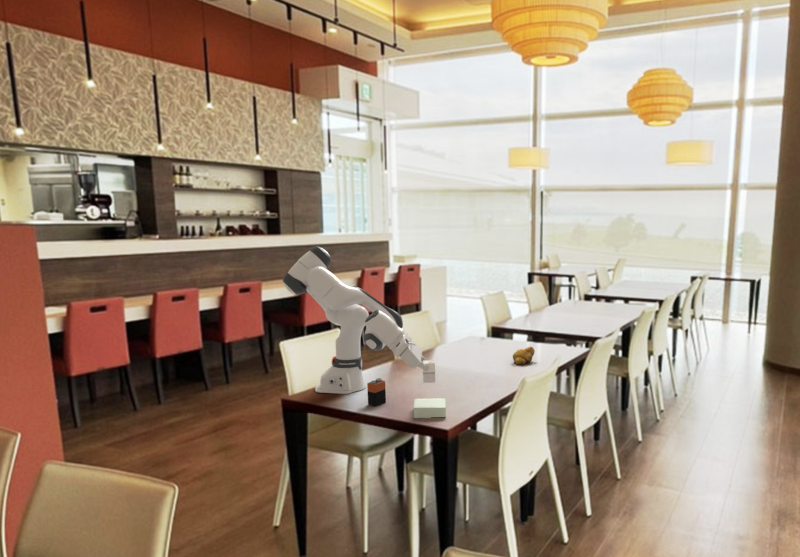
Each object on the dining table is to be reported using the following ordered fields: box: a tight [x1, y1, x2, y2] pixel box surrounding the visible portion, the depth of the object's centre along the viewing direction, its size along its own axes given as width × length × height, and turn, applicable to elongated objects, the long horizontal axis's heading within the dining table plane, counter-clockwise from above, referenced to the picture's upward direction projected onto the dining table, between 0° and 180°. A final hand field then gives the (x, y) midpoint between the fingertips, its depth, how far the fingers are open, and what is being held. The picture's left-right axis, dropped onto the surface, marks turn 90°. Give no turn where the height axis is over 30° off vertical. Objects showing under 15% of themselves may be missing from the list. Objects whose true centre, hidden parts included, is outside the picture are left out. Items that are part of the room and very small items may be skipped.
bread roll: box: [512, 346, 535, 365], centre depth 285 cm, size 13×10×8 cm
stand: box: [413, 397, 447, 419], centre depth 213 cm, size 12×11×4 cm
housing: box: [422, 359, 436, 384], centre depth 212 cm, size 5×5×8 cm
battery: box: [366, 377, 387, 407], centre depth 227 cm, size 4×7×10 cm, turn 140°
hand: (427, 367), depth 211 cm, fingers closed on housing, 4 cm apart
